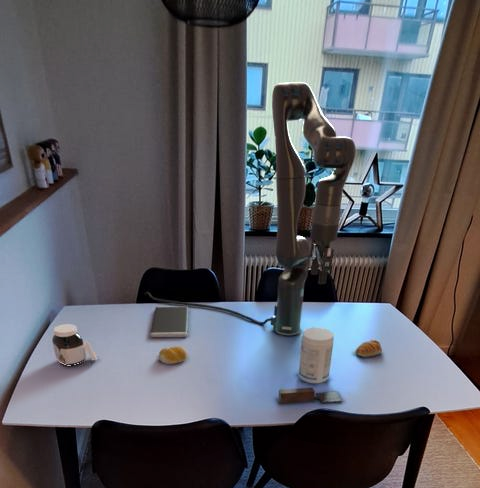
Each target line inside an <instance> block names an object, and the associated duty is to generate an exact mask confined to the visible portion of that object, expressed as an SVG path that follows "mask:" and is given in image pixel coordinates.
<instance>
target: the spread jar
mask: <svg viewBox="0 0 480 488" xmlns="http://www.w3.org/2000/svg"><path fill="white" fill-rule="evenodd" d="M53 333H54V335H53V336H52V340H51V341H52V347H53V351H54V355H55V358H56V360H57V359H58V360H59V361H60V362H62V363H64V364H66V365H64V364H62V363H60V362H59V361H58V360H57V361H58V363H59V364H60V365H61V366H63V367H66V368H73V367H77V366H80V365H81V364H83V363H84V362H85V361H86V358H87V354H88V356H89V358H90V359H91V361H93V360H95V361H98V358H97V357H98V356H97V355H96V353H95V351H94V349H93V348H92V346H91V344H90V343H89V341H88V340H85V341H84V340H83V338H82V336H81V335H80V334H79V333H78V328H77V326H76V325H74V324H71V323H66V324H64V323H63V324H59V325H56V326H55V327H54V328H53ZM86 352H87V354H86ZM94 354H95V355H94ZM84 360H85V361H84ZM82 361H83V362H82ZM95 361H94V362H95ZM80 362H81V363H80ZM77 363H79V364H77ZM74 364H76V365H74ZM67 365H71V366H67Z"/></svg>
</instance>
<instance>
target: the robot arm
mask: <svg viewBox="0 0 480 488" xmlns="http://www.w3.org/2000/svg"><path fill="white" fill-rule="evenodd" d="M271 108H272V110H271V111H272V123H273V130H274V131H273V132H274V141H275V143H274V144H275V178H276V179H275V182H276V183H275V184H276V185H275V186H276V187H275V188H276V202H277V203H276V212H277V213H276V217H277V218H276V219H277V225H276V227H277V228H276V229H277V230H276V242H275V243H276V244H275V256H276V260H277V262H278V264H279V265H280V266H281V267H282V269H284V270H283V271H282V273H281V274H280V275H279V277H278V283H277V284H278V285H277V299H276V304H275V305H274V308H273V309H274V310H273V315H272V316H270V318H266V319H265V320H264V321H259V320H256V319H254V318H252V317H250V316H248V315H245V314H243V313H241V312H238V311H235V310H233V309H230V308H225V307H220V306H216V305H209V304H201V303H193V302H185V301H177V300H176V301H174V300H167V299H161V298H156V297H154V296H153V295H152V293H150V292H149V291H146V292H145V293H144V296H147V295H148V297H149V298H150V299H151V300H152V301H155V302H160V303H166V304H174V305H183V306H191V307H201V308H207V309H214V310H219V311H224V312H227V313H231V314H234V315H236V316H239V317H241V318H243V319H246V320H249V321H251V322H252V323H254V324H257V325H266V324H267V323H268V322H270V326H272V328H273V329H272V331H274V332H275V333H277V334H279V335H281V336H287V337H289V336H297V335H298V334H300V333H301V322H302V313H303V303H304V302H303V301H304V291H305V282H306V280H307V278H308V275H309V269H310V275H311V276H316V275H318V279H317V283H318V284H319V285H326V283H327V279H328V272H331V271H332V267H333V258H334V252H335V249H334V248H331V243H332V242H334V241H336V240H337V239H338V233H339V226H340V220H341V209H342V199H343V192H344V188H345V186H346V183H347V179H348V177H349V174H350V171H351V169H352V166H353V165H354V161H355V159H356V153H357V152H356V151H357V149H356V143H355V141H354V140H353V139H352V138H351V137H348V136H337V132H336V130H335V128H334V126H333V125H332V123H330V122H329V120H328V119H327V118H326V117H325V116H324V114H323V112H322V109H321V108H320V105H319V103H318V101H317V99H316V96H315V94H314V92H313V90H312V88H311V86H310V85H309V84H308V83H306V82H304V81H293V82H280V83H276V84H275V85H274V86H273V90H272V95H271ZM301 120H303V122H302V135H303V137H304V139H305V140H306V142H307V143H308V145H309V146H310V147H311V150H312V155H313V160H314V164H315V165H316V166H317V167H319V168H321V169H325V170H326V169H327V170H329V169H330V170H331V169H334V170H333V171H332V174H331V175H330V176H327V177H324V178H321V179H319V180H318V182H317V186H316V191H315V202H314V207H313V211H312V218H311V227H310V228H311V229H310V234H309V235H310V238H311V244H310V243H309V240H308V239H306V237H303V236H301V235H298V222H299V217H300V214H301V210H302V207H303V204H304V201H305V197H306V187H307V185H306V176H307V175H306V168H305V164H304V163H303V160H302V159H301V158H300V156H299V154H298V152H297V150H296V149H295V147H294V145H293V143H292V141H291V137H290V133H289V126H288V122H291V121H293V122H294V121H301ZM310 262H311V265H310ZM310 266H311V267H310Z"/></svg>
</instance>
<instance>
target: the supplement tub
mask: <svg viewBox="0 0 480 488" xmlns="http://www.w3.org/2000/svg"><path fill="white" fill-rule="evenodd" d="M333 348H334V333H333V332H332V331H331V330H329V329H326V328H323V327H310V328H307V329H305V330H303V331H302V335H301V343H300V353H299V366H298V377H299V378H300V379H301V380H302V381H304V382H306V383H309V384H321V383H324V382H326V381H327V380H328V379H329V378H330V372H331V371H330V370H331V364H332V355H333Z"/></svg>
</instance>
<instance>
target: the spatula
mask: <svg viewBox="0 0 480 488" xmlns="http://www.w3.org/2000/svg"><path fill="white" fill-rule="evenodd" d="M315 394H316V395H315ZM277 400H278V402H279V404H282V405H283V404H295V403H310V402H311V403H313V402H315V401H320V403H321V404H333V403H334V404H335V403H342V402H343V401H342V399H341V397H340V395H339V394H338V392H337V391H326V392H317V393H316V391H315V389H314V387H313V386H311V387H296V388H282V389H281V388H280V389H278V399H277Z"/></svg>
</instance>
